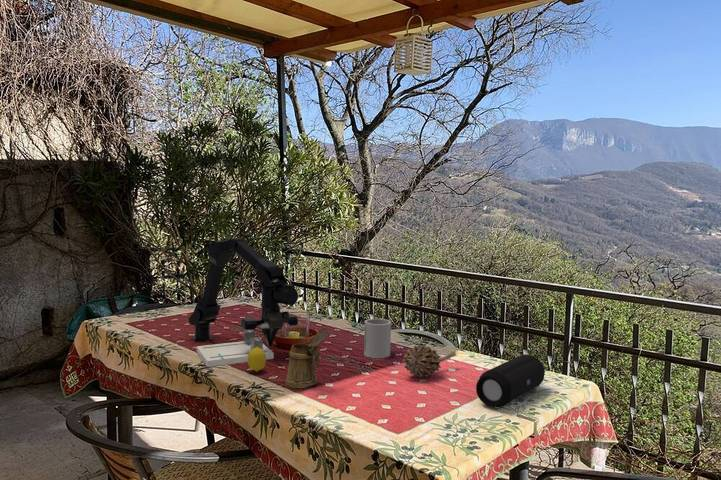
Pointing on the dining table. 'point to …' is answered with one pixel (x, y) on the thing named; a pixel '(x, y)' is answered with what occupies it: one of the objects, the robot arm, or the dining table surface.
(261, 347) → the fader
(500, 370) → the portable speaker
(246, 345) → the slotted white panel
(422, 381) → the dining table surface
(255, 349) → the lemon
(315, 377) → the wooden mug
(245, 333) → the fader
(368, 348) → the cup
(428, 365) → the pine cone
